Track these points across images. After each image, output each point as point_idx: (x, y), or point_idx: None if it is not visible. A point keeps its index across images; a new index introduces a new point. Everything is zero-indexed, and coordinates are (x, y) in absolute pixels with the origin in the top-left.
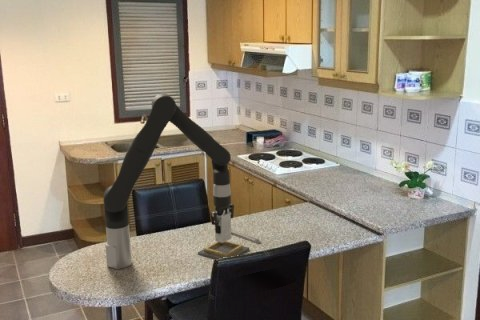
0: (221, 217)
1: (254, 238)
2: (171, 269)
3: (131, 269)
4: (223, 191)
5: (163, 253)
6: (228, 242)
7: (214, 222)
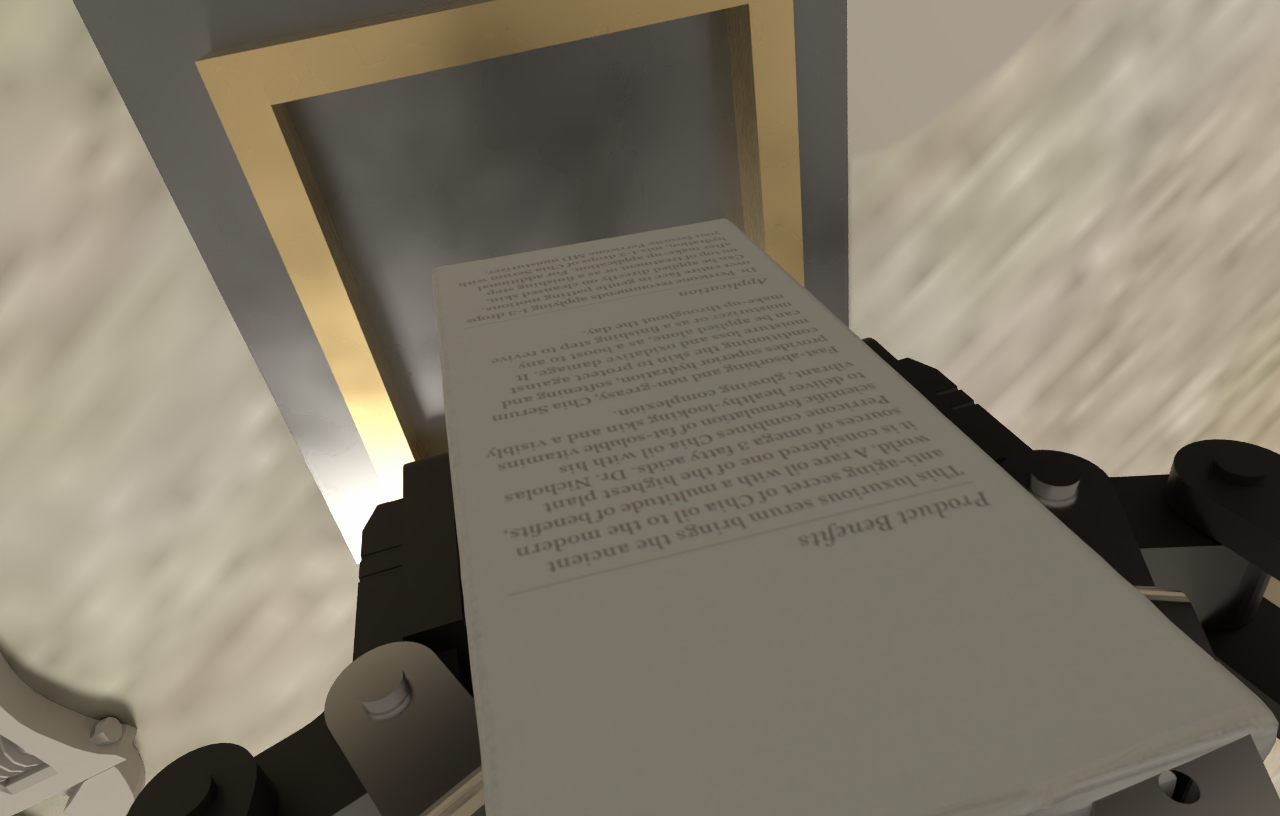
0: (1231, 685)
1: None
2: (1275, 272)
3: None
4: None
5: None
6: (374, 367)
7: (1264, 583)
